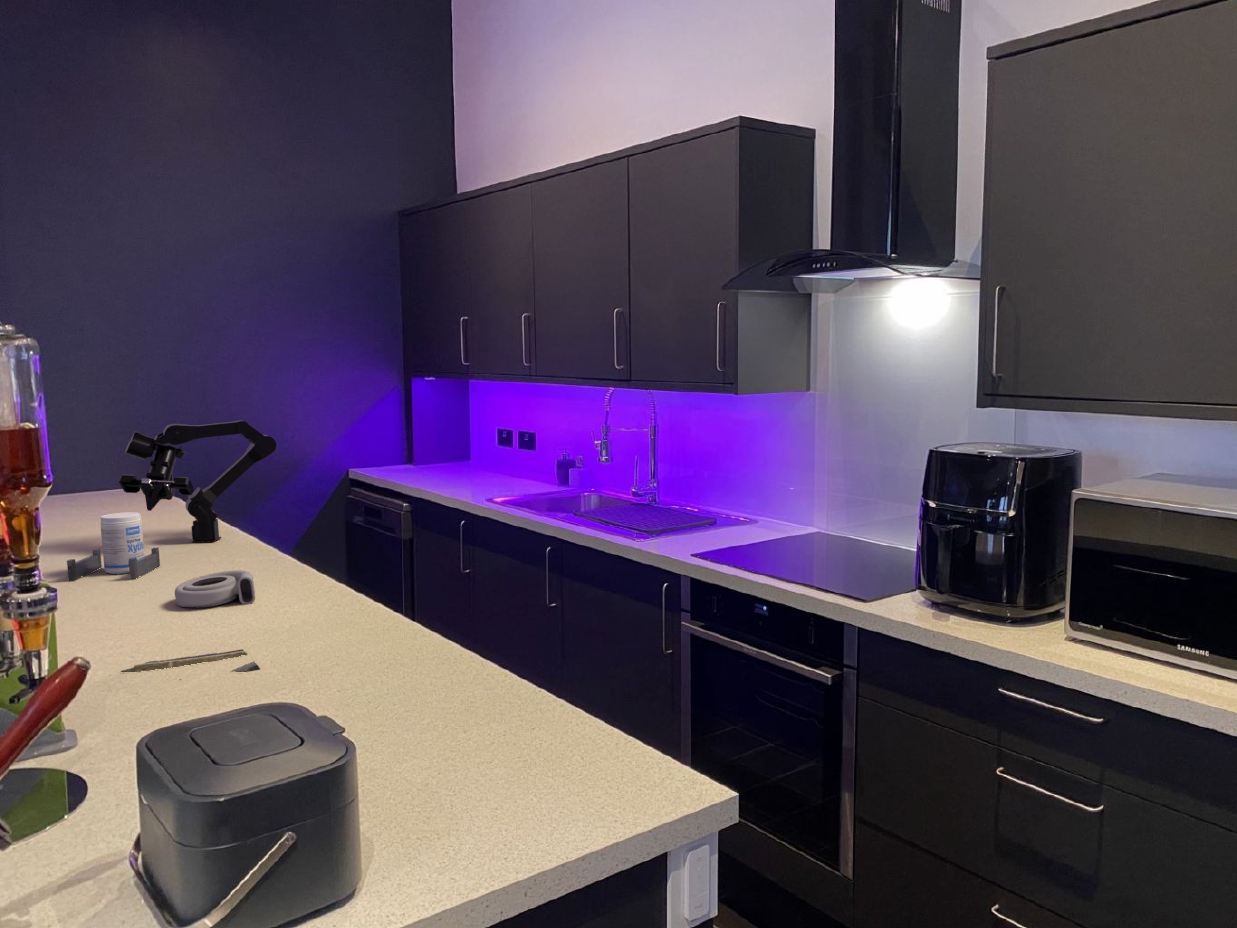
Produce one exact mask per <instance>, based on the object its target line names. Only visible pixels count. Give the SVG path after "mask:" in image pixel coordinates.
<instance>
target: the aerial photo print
mask: <svg viewBox="0 0 1237 928" xmlns="http://www.w3.org/2000/svg"><path fill="white" fill-rule="evenodd" d="M241 655H245V656H248V655H249V653H247V652H246V651H245V650H244V649H236V650H232V651H230V650H229V651H224V652H223V651H222V652H219V653H217V652H211V653H206V654H198V655H192V656H189V655H188V656H185V657H183V656H182V657H176V658H172V659H165V660H164V659H163V660H149V661H147V662H144V663H140V664H139V663H138V664H136V665H134V666H133V667H131V668H127V669H122V670H120V672H138V673H142V672H141V671H146V672H151V671H150V670H154V671H156V670H155V669H161V670H168V669H167V668H169V669H174V668H173V667H177V668H181V667H180V666H183V667H185V666H184V665H190V666H192V665H191V664H196V665H198V664H197V663H202V662H208V663H213V661H214V662H218V661H224V660H223V659H225V660H229V659H228V658H230V659H234V657H235V658H240V657H242V656H241ZM239 656H240V657H239ZM255 662H256V661H252V662H250V663H247V664H246V663H245V664H244V665H243V666H239V667H237V668H235V669H233V670H230V671H229V673H233V672H234V673H237V672H247V673H248V672H252V671H257V670H261V668H260V666H259V665H258V664H257V662H256V663H255ZM202 664H203V663H202ZM171 667H172V668H171ZM164 668H166V669H164ZM179 681H182V678H179Z"/></svg>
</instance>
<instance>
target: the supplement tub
mask: <svg viewBox="0 0 1237 928" xmlns="http://www.w3.org/2000/svg"><path fill="white" fill-rule="evenodd" d="M142 523H143V522H142V516H141V513H140V512H136V511H135V512H133V511H131V512H129V511H128V512H127V511H125V512H114V513H109V514H104V515H101V516H100V532H101V533H100V535H101V545H102V546H101V547H102V557H103V558H102V559H103V569H104V572H106V573H107V574H110V575H121V574H122V575H123V574H130V570H129V559H130V558H137V560H139V559H141V558H143V557H145V549H144V535H143V525H142Z"/></svg>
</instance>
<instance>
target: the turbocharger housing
mask: <svg viewBox="0 0 1237 928" xmlns="http://www.w3.org/2000/svg"><path fill="white" fill-rule="evenodd" d="M174 598H175V603H176V605H177V606H179V607H182V608H194V607H195V608H196V609H200V608H210V607H216V606H221V605H223V604H227V603H229V602H232V601H234V600H235V599H237V598H239V602H240V603H241V604H242V605H252V604H254V602H255V600H256V588H255V581H254V576H253V574H252V573H251V572H250V571H246V570H242V569H240V570H237V569H236V570H227V571H218V572H213V573H208V574H205V575H199V576H198V577H193V578H191V579H188V580H185V581H184V582H182V583H180V584H179V585H177V586H176V588H175V589H174ZM195 608H194V609H195Z"/></svg>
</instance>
